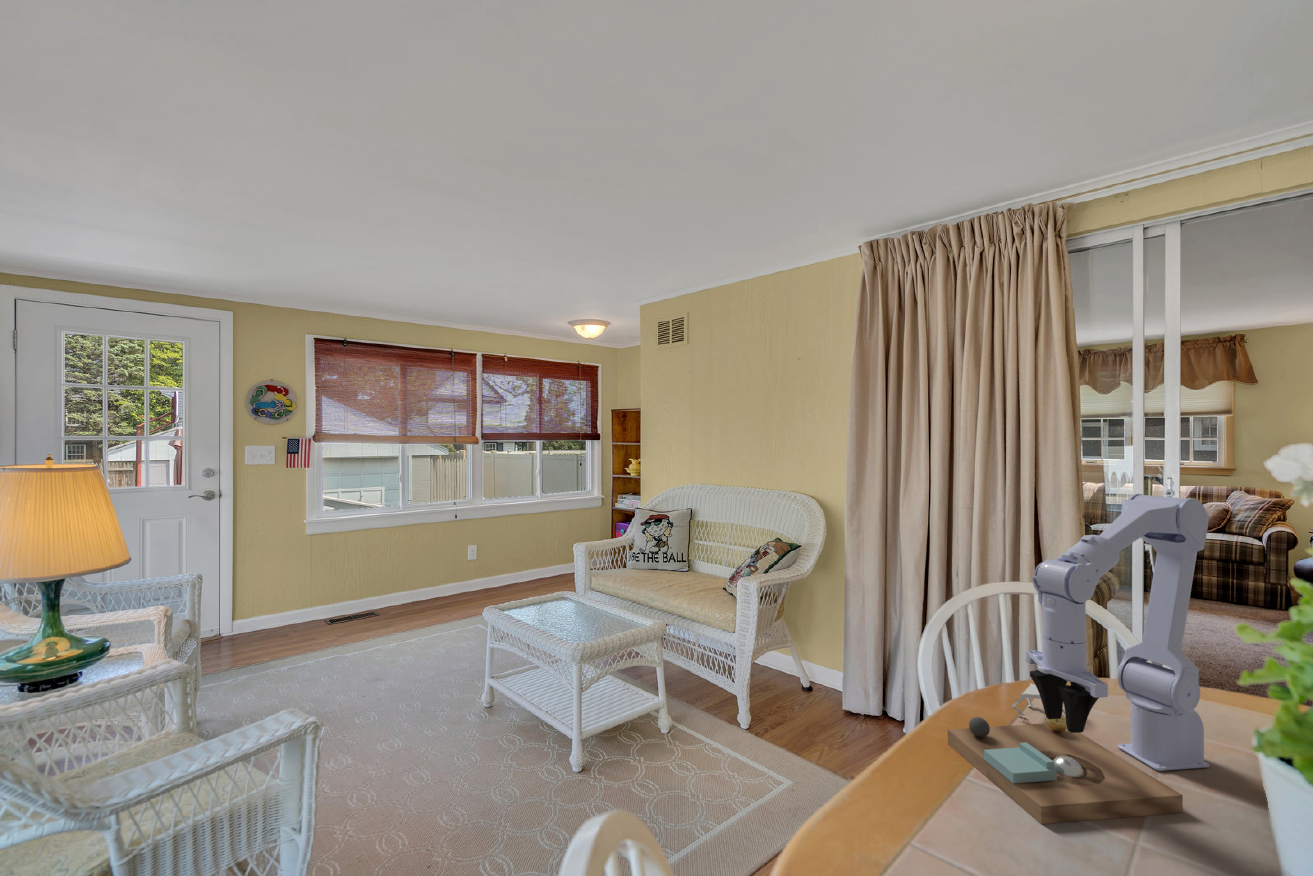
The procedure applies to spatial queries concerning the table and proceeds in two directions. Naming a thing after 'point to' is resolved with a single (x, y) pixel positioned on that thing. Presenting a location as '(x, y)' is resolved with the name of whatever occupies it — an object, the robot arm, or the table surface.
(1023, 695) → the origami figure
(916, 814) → the table surface
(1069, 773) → the steel ball
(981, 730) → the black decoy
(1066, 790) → the wooden board
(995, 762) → the cover
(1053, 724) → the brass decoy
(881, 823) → the table surface
